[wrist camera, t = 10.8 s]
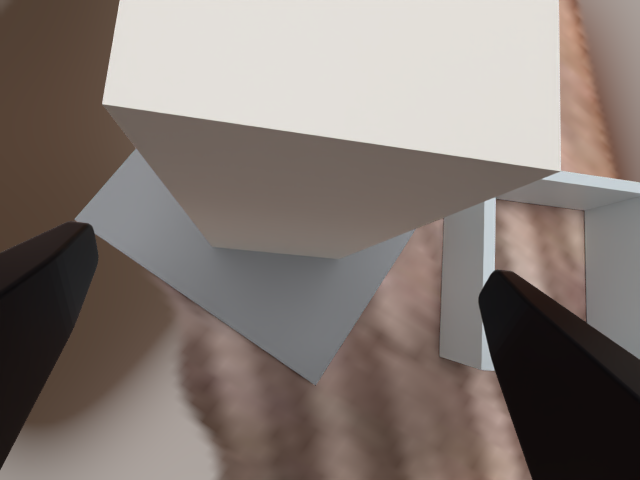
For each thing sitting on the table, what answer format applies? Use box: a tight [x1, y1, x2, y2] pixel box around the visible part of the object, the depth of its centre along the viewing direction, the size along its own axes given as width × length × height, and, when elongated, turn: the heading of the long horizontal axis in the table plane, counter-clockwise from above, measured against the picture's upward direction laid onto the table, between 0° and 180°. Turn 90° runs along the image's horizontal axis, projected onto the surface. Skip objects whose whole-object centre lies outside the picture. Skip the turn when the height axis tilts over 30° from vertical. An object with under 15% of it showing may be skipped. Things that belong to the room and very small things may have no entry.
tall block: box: [102, 0, 561, 259], centre depth 11 cm, size 6×6×13 cm
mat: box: [75, 149, 415, 386], centre depth 18 cm, size 12×12×1 cm
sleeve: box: [439, 171, 640, 371], centre depth 18 cm, size 8×8×4 cm
